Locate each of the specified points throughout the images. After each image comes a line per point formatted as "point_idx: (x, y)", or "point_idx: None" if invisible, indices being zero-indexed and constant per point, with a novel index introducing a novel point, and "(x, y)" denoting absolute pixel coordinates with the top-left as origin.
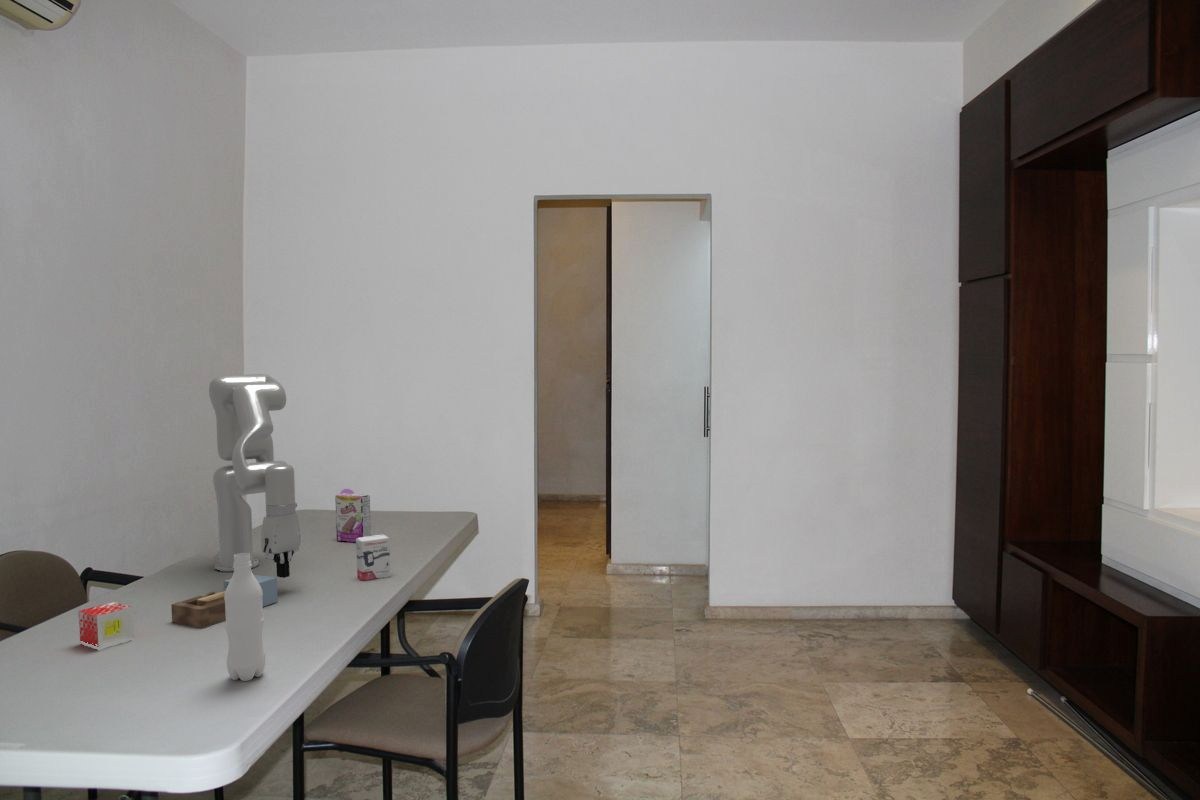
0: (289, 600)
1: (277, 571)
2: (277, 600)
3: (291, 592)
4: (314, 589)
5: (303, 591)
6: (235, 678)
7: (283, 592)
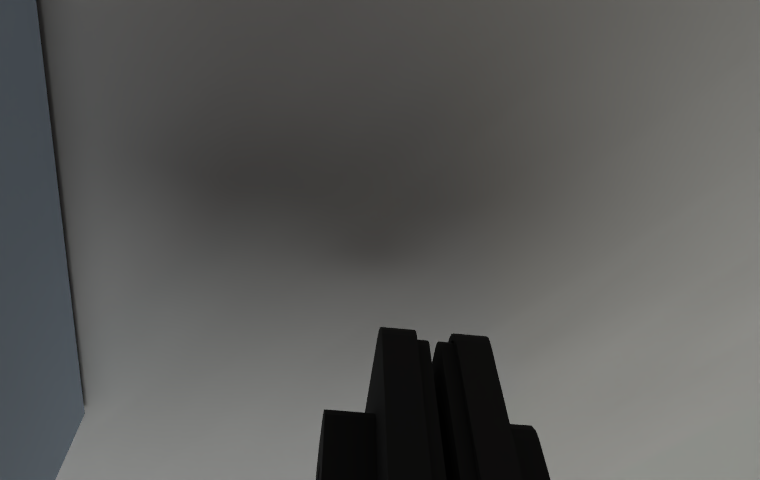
0: (200, 451)
1: (319, 461)
2: (75, 424)
3: (460, 297)
4: (618, 428)
5: (526, 381)
6: None
7: (435, 214)
